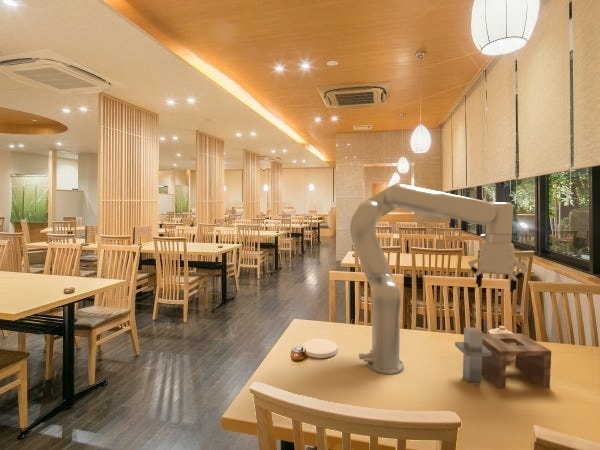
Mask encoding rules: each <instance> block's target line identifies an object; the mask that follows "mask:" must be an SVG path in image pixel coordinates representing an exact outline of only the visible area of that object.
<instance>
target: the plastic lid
mask: <svg viewBox="0 0 600 450" xmlns="http://www.w3.org/2000/svg"><path fill="white" fill-rule="evenodd" d="M302 347H304V348H305V349H306V354H307V355H306V354H305V355H306V356H308V357H310V358H311V357H312V358H316V359H317V358H319V359H323V358H324V359H325V358H329V357H332V356H335V355H337V353H338V350H339V349H338V348H339V346H338V344H337V343H336V342H335V341H332V340H329V339H326V338H325V339H324V338H312V339H309V340H306V341H304V342H303V343H302V345H301V348H302Z"/></svg>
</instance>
